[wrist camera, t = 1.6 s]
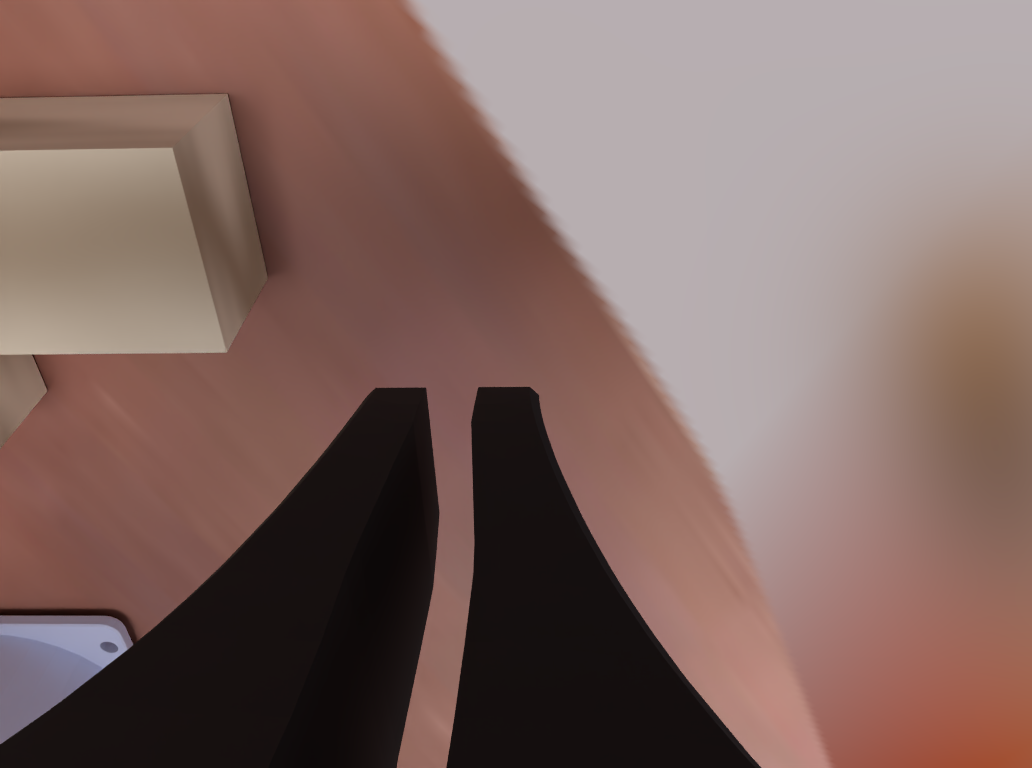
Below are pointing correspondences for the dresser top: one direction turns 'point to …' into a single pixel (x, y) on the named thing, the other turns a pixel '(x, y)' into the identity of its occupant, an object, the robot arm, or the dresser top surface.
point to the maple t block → (119, 233)
